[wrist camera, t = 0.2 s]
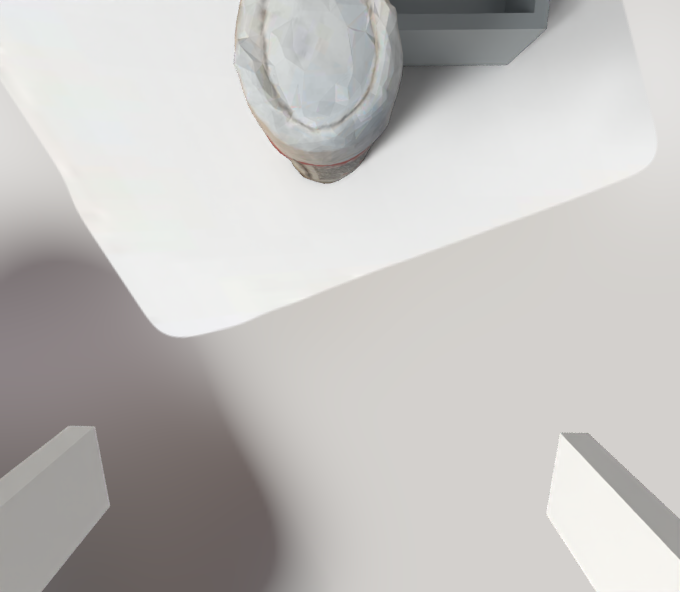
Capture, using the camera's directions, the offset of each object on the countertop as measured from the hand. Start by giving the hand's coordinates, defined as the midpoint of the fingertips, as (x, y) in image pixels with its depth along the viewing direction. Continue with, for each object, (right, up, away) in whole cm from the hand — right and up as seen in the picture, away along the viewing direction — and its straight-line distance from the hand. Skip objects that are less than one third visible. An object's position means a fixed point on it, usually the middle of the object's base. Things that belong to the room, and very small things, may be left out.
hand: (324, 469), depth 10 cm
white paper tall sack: (-1, +20, +24) cm, 31 cm away
